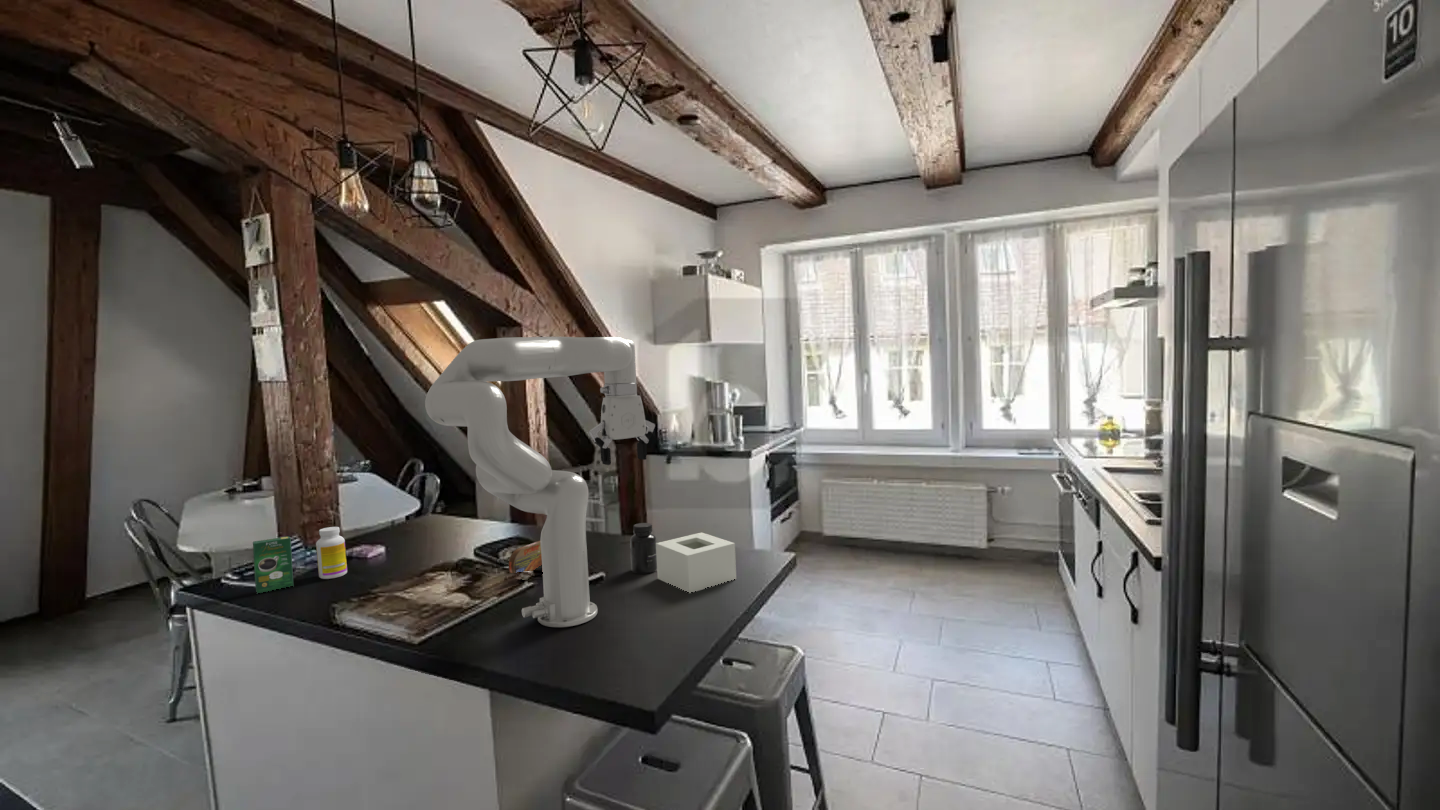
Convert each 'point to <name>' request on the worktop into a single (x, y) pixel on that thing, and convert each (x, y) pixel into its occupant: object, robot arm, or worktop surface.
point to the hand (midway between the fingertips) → (624, 461)
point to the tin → (526, 558)
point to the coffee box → (272, 564)
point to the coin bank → (696, 561)
